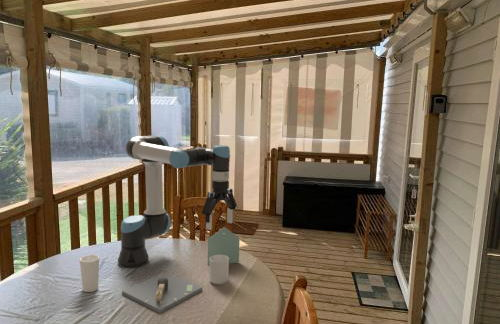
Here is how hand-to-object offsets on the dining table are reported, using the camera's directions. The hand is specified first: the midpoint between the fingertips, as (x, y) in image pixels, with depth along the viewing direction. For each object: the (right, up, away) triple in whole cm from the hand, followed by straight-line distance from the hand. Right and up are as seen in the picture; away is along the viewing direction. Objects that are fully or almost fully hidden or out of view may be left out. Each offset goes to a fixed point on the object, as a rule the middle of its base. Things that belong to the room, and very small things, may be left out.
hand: (219, 225), depth 169 cm
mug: (-1, -27, +6) cm, 27 cm away
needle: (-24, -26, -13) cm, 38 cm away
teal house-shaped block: (-1, -24, +28) cm, 37 cm away
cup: (-56, -27, -7) cm, 62 cm away
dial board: (-24, -28, -8) cm, 37 cm away
